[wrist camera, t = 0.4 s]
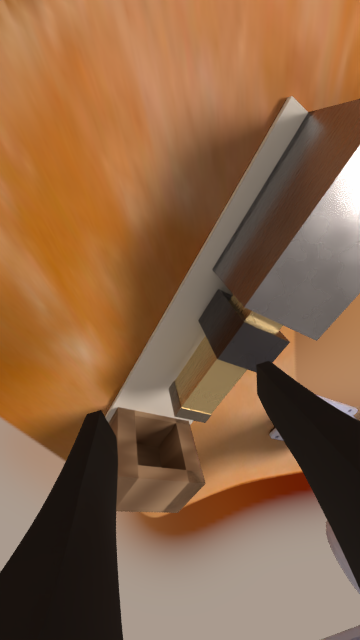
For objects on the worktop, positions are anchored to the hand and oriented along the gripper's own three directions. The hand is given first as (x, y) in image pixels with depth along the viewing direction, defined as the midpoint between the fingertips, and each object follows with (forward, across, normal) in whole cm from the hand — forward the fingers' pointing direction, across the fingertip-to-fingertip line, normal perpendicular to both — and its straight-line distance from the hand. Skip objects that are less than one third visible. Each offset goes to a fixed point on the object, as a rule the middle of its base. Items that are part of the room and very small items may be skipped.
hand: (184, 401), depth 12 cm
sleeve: (+9, -10, -4) cm, 14 cm away
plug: (+9, -6, +1) cm, 11 cm away
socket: (+9, +5, +14) cm, 18 cm away
